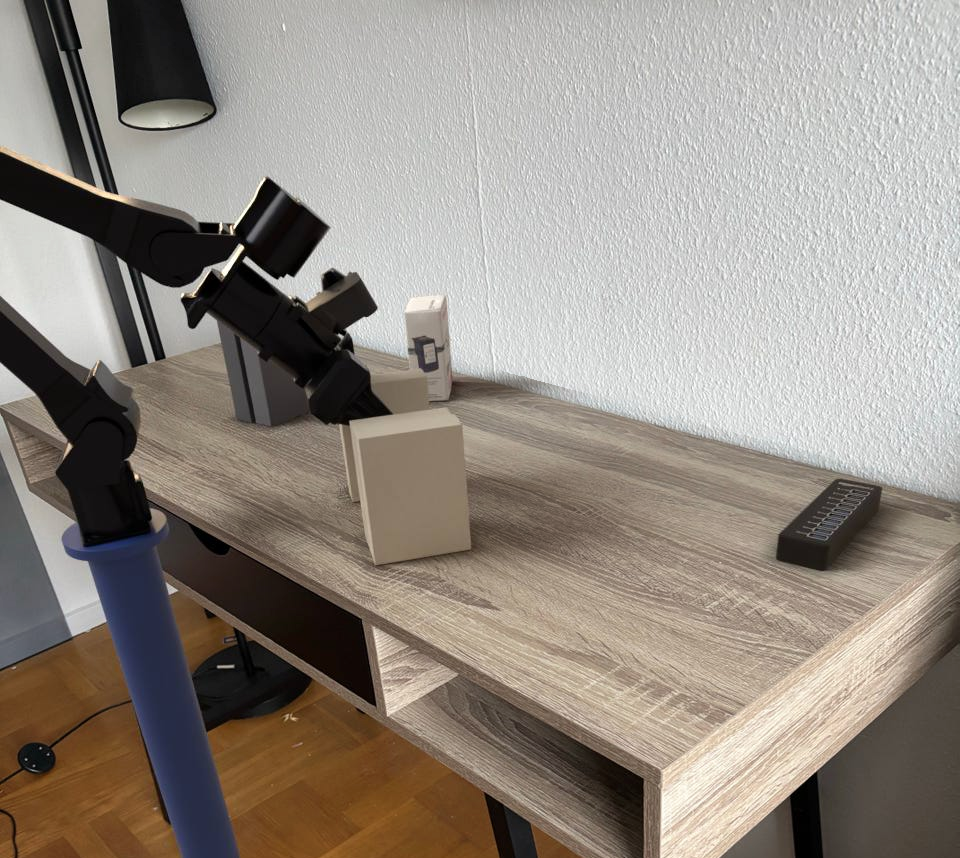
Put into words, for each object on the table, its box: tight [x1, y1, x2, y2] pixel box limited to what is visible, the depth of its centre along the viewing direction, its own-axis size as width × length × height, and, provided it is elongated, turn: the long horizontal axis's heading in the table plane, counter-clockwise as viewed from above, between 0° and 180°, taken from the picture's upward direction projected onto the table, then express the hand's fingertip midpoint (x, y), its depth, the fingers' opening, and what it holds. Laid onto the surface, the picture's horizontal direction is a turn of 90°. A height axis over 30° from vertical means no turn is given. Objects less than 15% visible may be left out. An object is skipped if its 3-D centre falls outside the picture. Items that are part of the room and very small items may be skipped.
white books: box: [349, 406, 472, 566], centre depth 86 cm, size 9×6×12 cm
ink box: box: [403, 294, 454, 402], centre depth 125 cm, size 8×5×12 cm, turn 178°
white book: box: [338, 369, 431, 503], centre depth 97 cm, size 9×3×12 cm, turn 104°
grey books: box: [216, 320, 311, 427], centre depth 121 cm, size 10×6×13 cm
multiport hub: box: [775, 478, 883, 571], centre depth 85 cm, size 4×14×2 cm, turn 143°
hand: (394, 416), depth 96 cm, fingers open, 9 cm apart
